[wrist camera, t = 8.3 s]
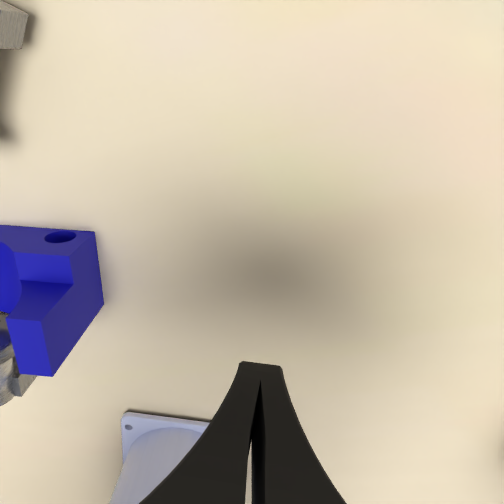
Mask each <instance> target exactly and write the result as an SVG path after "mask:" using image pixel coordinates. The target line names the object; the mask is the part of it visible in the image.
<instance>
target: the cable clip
mask: <svg viewBox="0 0 504 504" xmlns="http://www.w3.org/2000/svg"><path fill="white" fill-rule="evenodd" d="M103 305H104V300H103V292H102V284H101V277H100V269H99V261H98V254H97V246H96V238H95V232H92V231H78V230H64V229H50V228H36V227H23V226H9V225H0V311H2V312H6V313H9V315H8V316H7V317H6V318H5V319H6V323H7V327H8V331H9V334H10V338H11V342H12V346H13V350H14V353H15V357H16V361H17V365H18V369H19V373H20V374H27V375H38V376H50V377H53V376H54V374H55V373H56V371H57V370H58V369H59V367H60V366H61V364H62V363H63V361H64V360H65V359H66V357H67V356H68V354H69V353H70V352H71V350H72V349H73V347H74V346H75V344H76V343H77V342H78V340H79V339H80V337H81V336H82V335H83V333H84V332H85V330H86V329H87V328H88V326H89V325H90V323H91V322H92V320H93V319H94V318H95V316H96V315H97V313H98V312H99V311H100V309H101V308H102V306H103Z"/></svg>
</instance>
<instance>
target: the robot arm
mask: <svg viewBox="0 0 504 504" xmlns="http://www.w3.org/2000/svg"><path fill="white" fill-rule="evenodd" d="M128 424H129V425H128ZM121 430H122V452H123V468H122V470H121V473H120V476H119V478H118V481H117V483H116V486H115V489H114V491H113V494H112V496H111V499H110V502H109V504H245V492H246V477H247V462H248V455H249V450H250V444H251V439H252V504H346V502H345V501H344V499H343V498H342V497H341V495H340V494H339V492H338V491H337V489H336V488H335V487H334V485H333V484H332V482H331V480H330V479H329V477H328V475H327V474H326V472H325V471H324V469H323V467H322V466H321V464H320V462H319V460H318V459H317V457H316V455H315V453H314V451H313V449H312V447H311V445H310V444H309V441H308V439H307V437H306V435H305V433H304V431H303V429H302V427H301V424H300V422H299V420H298V417H297V415H296V412H295V410H294V407H293V405H292V402H291V399H290V396H289V393H288V390H287V387H286V384H285V380H284V376H283V371H282V368H281V367H280V366H277V365H269V364H261V363H254V362H246V361H242V362H241V363H239V367H238V370H237V373H236V376H235V378H234V381H233V383H232V385H231V387H230V389H229V391H228V393H227V395H226V397H225V399H224V401H223V402H222V404H221V406H220V408H219V409H218V411H217V413H216V414H215V416H214V417H213V419H212V420H211V422H210V423H208V422H201V421H193V420H186V419H178V418H171V417H163V416H156V415H148V414H141V413H133V412H126V413H124V414H123V416H122V418H121Z"/></svg>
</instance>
